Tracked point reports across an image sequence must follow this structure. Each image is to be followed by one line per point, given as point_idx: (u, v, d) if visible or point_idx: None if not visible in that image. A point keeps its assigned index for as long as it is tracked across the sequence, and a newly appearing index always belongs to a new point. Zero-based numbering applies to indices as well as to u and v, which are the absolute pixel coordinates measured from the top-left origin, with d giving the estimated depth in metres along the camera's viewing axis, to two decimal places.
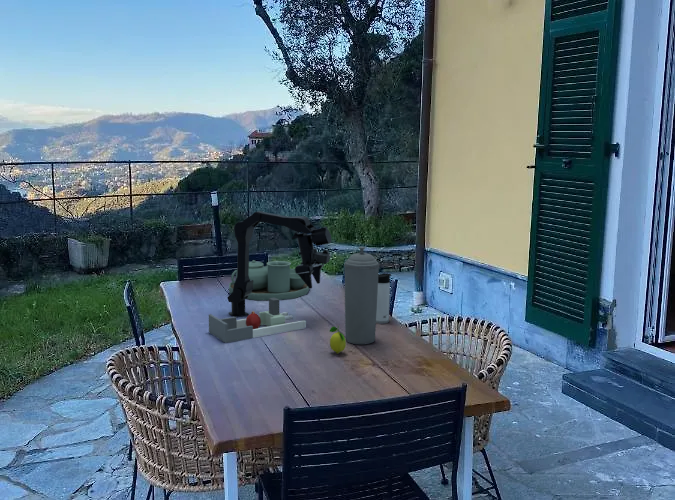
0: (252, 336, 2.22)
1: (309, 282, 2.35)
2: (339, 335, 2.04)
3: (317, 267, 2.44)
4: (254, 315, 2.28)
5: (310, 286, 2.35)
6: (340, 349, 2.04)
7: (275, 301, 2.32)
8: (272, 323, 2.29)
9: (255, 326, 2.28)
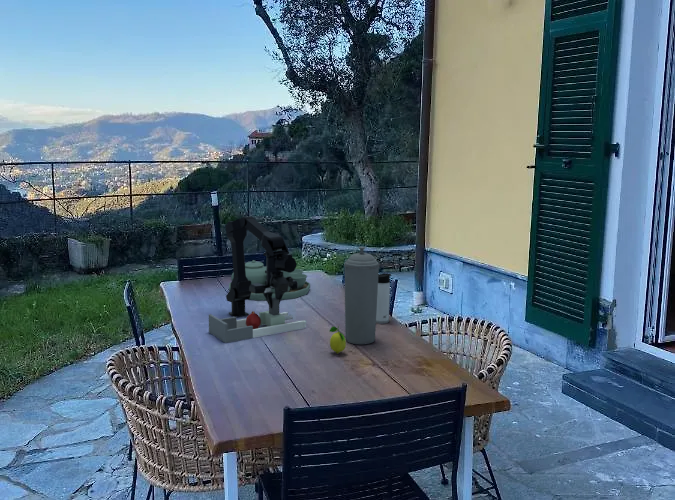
0: (252, 336, 2.22)
1: (269, 302, 2.32)
2: (339, 335, 2.04)
3: (279, 291, 2.33)
4: (254, 315, 2.28)
5: (270, 306, 2.33)
6: (340, 349, 2.04)
7: (275, 301, 2.32)
8: (272, 323, 2.29)
9: (255, 326, 2.28)
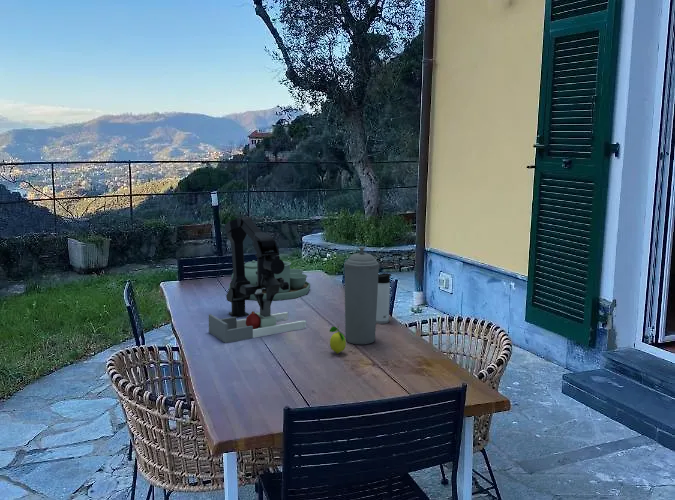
0: (252, 336, 2.22)
1: (260, 303, 2.30)
2: (339, 335, 2.04)
3: (270, 292, 2.31)
4: (254, 315, 2.28)
5: (261, 307, 2.31)
6: (340, 349, 2.04)
7: (266, 302, 2.30)
8: (263, 325, 2.27)
9: (255, 326, 2.28)
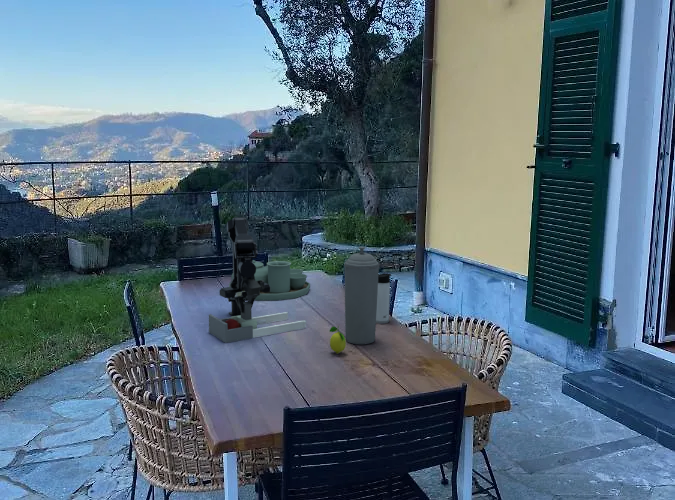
0: (252, 336, 2.22)
1: (240, 306, 2.25)
2: (339, 335, 2.04)
3: (251, 295, 2.27)
4: None
5: (241, 310, 2.26)
6: (340, 349, 2.04)
7: (247, 305, 2.25)
8: None
9: (237, 327, 2.24)
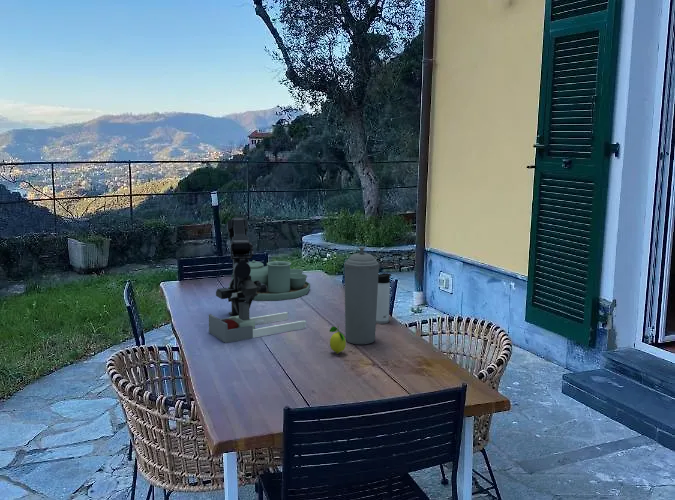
0: (252, 336, 2.22)
1: (235, 307, 2.24)
2: (339, 335, 2.04)
3: (249, 295, 2.26)
4: None
5: (237, 311, 2.25)
6: (340, 349, 2.04)
7: (245, 306, 2.25)
8: None
9: (234, 327, 2.23)
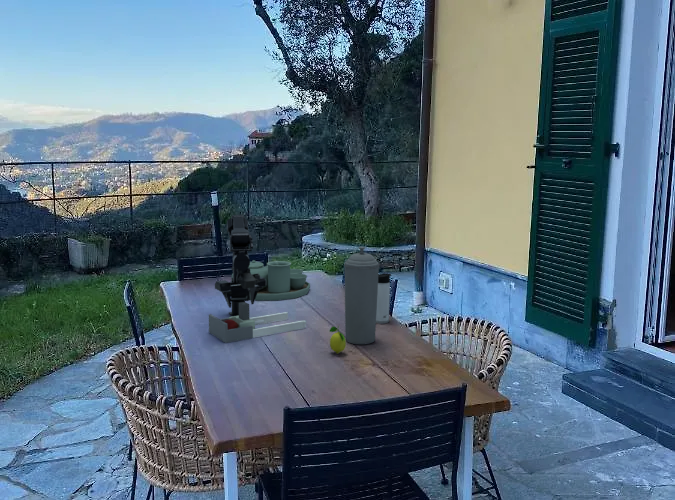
0: (252, 336, 2.22)
1: (227, 301, 2.22)
2: (339, 335, 2.04)
3: (254, 287, 2.27)
4: None
5: (229, 305, 2.23)
6: (340, 349, 2.04)
7: (245, 306, 2.25)
8: None
9: (234, 327, 2.23)
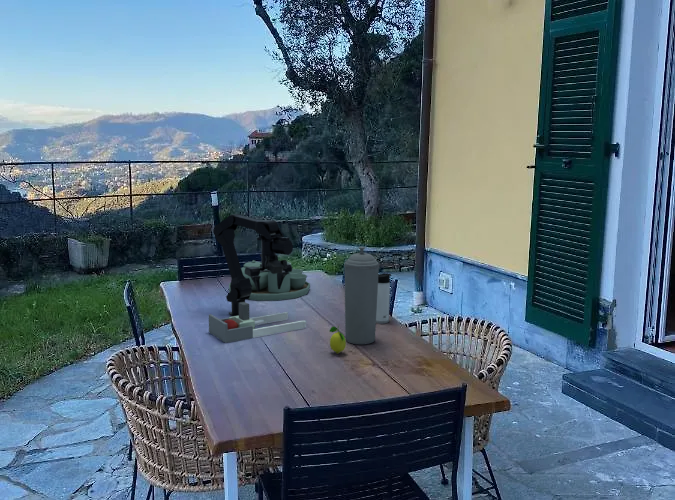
0: (252, 336, 2.22)
1: (256, 286, 2.37)
2: (339, 335, 2.04)
3: (280, 273, 2.42)
4: None
5: (257, 290, 2.38)
6: (340, 349, 2.04)
7: (245, 306, 2.25)
8: None
9: (234, 328, 2.23)
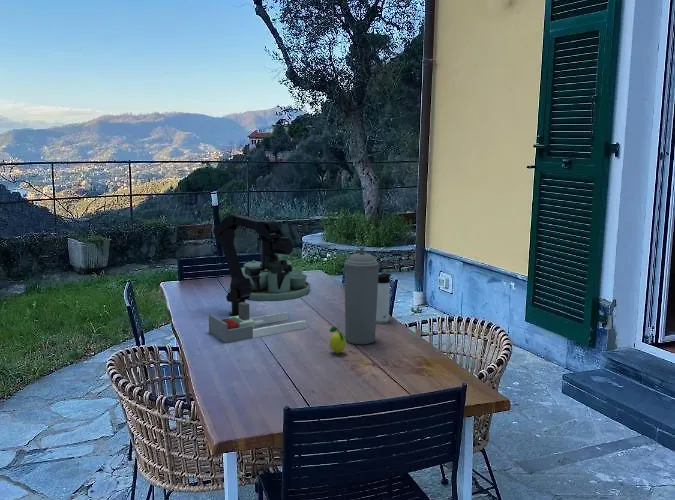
0: (252, 336, 2.22)
1: (256, 286, 2.37)
2: (339, 335, 2.04)
3: (280, 273, 2.42)
4: None
5: (257, 290, 2.38)
6: (340, 349, 2.04)
7: (245, 306, 2.25)
8: None
9: (234, 328, 2.23)
